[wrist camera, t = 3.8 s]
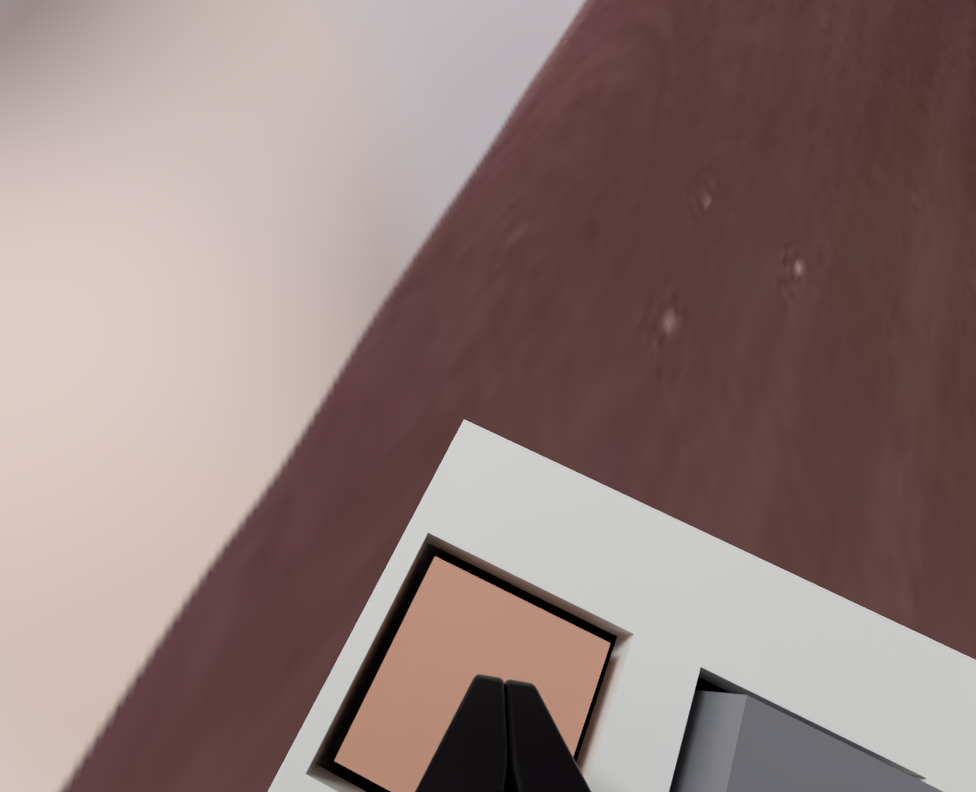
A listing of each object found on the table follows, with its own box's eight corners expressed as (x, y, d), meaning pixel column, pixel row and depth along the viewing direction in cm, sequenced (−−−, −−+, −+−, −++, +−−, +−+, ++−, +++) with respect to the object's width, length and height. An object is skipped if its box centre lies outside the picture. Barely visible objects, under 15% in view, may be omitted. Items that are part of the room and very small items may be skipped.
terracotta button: (513, 830, 11) (535, 869, 9) (349, 742, 11) (333, 760, 9) (577, 647, 13) (610, 643, 11) (431, 573, 13) (435, 555, 11)
